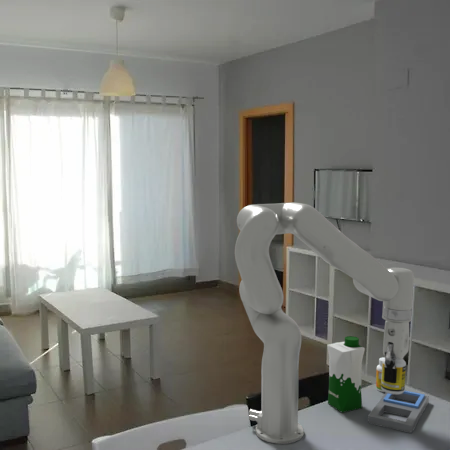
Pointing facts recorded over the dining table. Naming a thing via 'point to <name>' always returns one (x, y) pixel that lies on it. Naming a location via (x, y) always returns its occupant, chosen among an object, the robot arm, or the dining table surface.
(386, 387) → the pill bottle
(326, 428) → the dining table surface
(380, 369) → the supplement bottle
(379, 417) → the organizer board
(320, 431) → the dining table surface
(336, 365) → the milk carton
